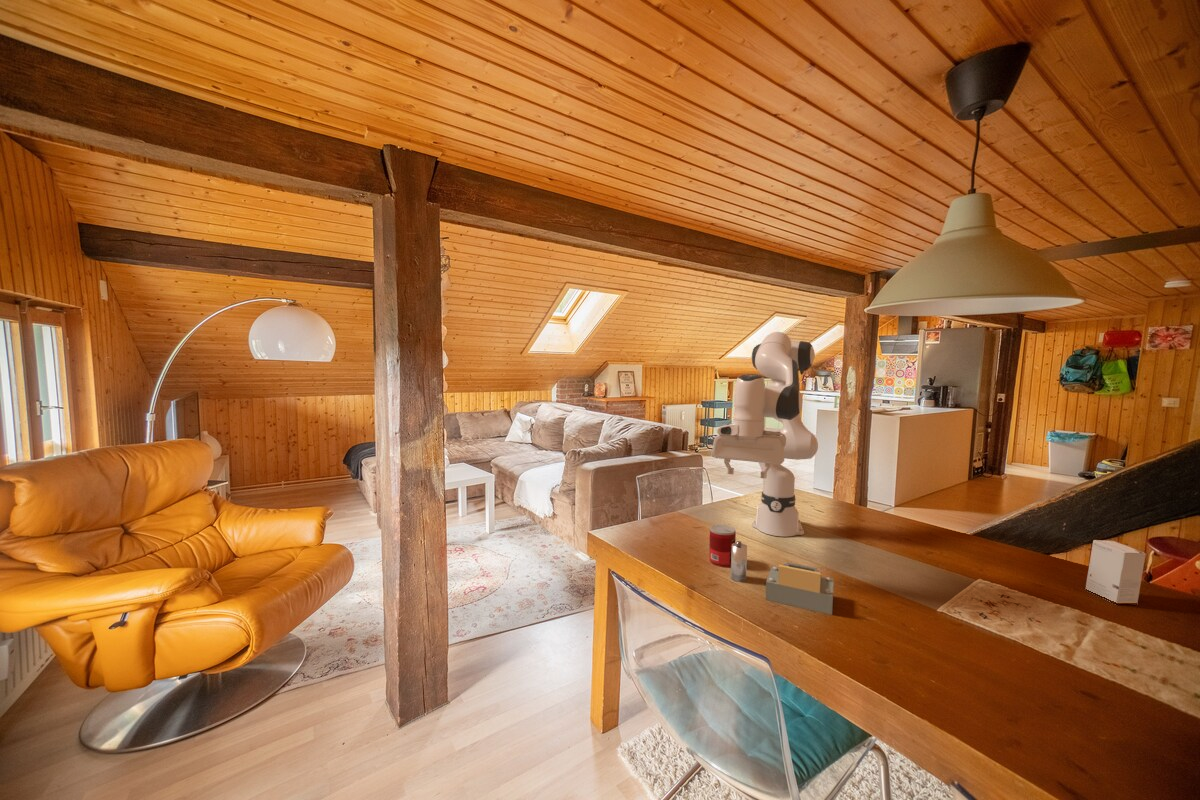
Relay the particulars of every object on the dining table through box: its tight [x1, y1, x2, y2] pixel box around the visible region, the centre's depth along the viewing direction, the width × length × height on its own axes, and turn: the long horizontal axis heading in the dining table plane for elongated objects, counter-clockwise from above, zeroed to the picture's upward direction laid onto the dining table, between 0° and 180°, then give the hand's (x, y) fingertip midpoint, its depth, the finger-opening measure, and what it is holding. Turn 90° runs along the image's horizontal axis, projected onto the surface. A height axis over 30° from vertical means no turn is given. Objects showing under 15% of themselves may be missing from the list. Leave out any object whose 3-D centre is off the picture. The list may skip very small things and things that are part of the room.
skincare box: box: [1085, 539, 1147, 604], centre depth 124 cm, size 8×6×15 cm
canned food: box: [708, 524, 737, 568], centre depth 147 cm, size 8×8×11 cm
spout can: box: [730, 540, 748, 583], centre depth 135 cm, size 4×4×11 cm
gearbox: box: [765, 562, 835, 616], centre depth 124 cm, size 10×16×10 cm, turn 62°
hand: (746, 476), depth 135 cm, fingers open, 8 cm apart
